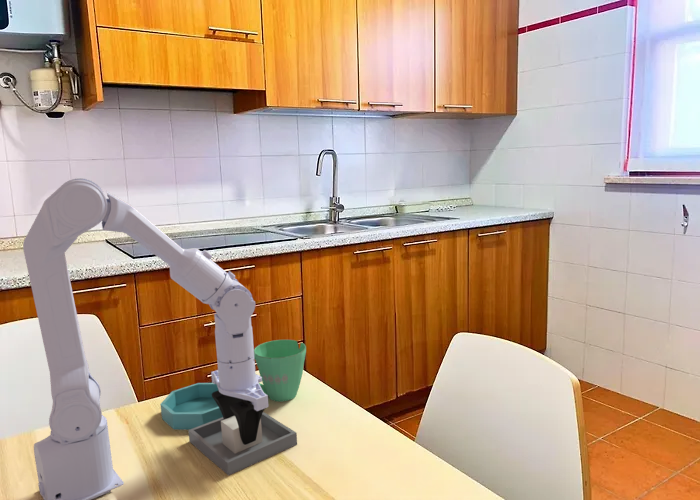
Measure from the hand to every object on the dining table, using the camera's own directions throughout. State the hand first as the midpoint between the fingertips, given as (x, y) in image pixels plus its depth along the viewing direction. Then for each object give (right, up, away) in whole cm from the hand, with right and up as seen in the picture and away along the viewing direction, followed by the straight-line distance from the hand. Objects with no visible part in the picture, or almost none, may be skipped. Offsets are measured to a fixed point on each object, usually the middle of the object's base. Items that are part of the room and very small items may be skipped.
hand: (242, 436), depth 88 cm
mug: (+2, +1, +18) cm, 18 cm away
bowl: (-10, 0, +12) cm, 15 cm away
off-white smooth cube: (0, -1, 0) cm, 1 cm away
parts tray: (0, -2, 0) cm, 2 cm away
